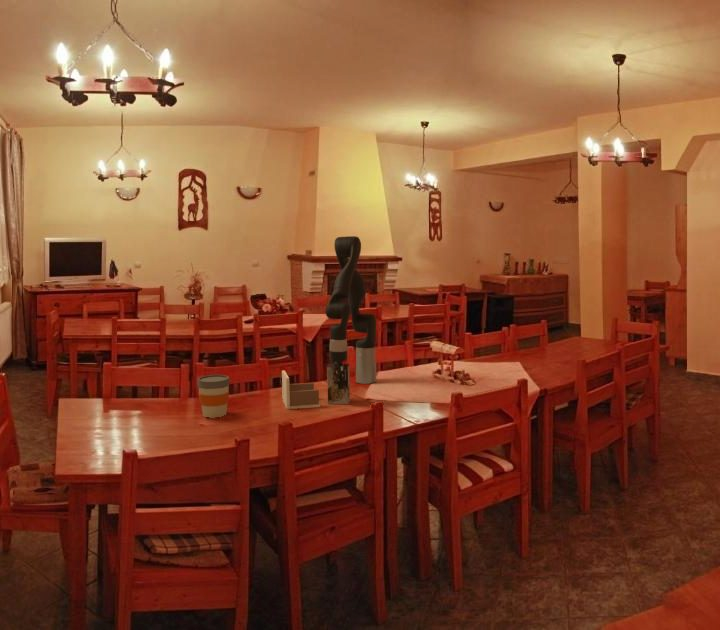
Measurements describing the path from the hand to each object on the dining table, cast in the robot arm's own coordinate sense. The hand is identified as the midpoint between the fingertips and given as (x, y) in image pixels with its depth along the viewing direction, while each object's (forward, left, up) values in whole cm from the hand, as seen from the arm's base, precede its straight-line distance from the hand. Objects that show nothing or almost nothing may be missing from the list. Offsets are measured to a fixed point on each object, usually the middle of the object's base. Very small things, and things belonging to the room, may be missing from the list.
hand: (338, 387), depth 272 cm
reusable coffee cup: (+52, +6, -7) cm, 53 cm away
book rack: (+16, -2, -7) cm, 17 cm away
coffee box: (0, 0, -7) cm, 7 cm away
